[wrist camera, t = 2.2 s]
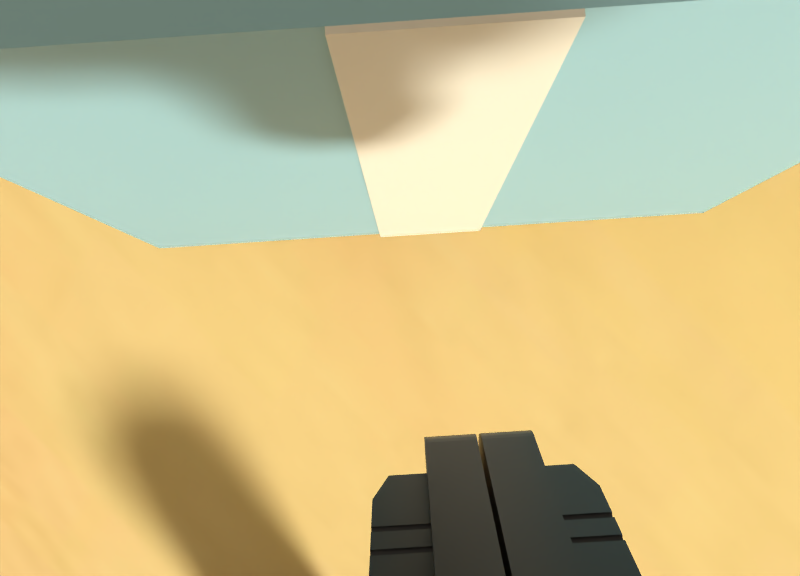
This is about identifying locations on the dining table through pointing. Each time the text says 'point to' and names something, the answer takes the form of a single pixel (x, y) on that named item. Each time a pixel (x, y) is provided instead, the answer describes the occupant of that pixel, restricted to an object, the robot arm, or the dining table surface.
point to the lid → (392, 111)
